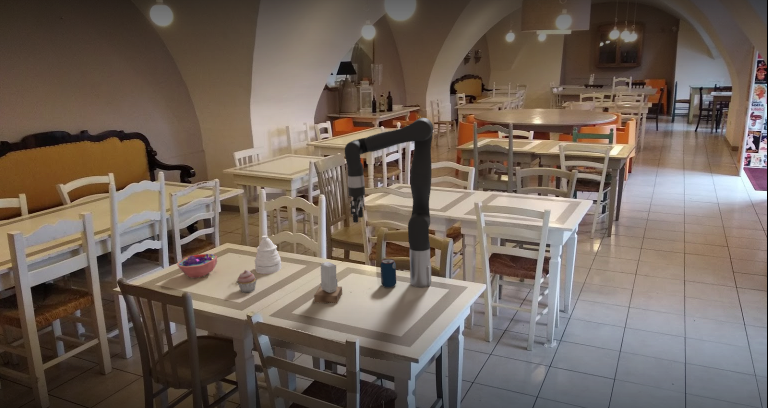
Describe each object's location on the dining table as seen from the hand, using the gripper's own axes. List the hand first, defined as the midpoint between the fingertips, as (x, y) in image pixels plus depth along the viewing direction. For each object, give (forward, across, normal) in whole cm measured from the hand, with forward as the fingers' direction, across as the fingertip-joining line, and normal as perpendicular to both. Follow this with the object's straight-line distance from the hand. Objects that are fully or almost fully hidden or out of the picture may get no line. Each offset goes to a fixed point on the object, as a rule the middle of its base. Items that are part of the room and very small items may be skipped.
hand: (358, 219), depth 255 cm
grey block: (+30, -11, +12) cm, 34 cm away
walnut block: (+30, -21, +9) cm, 38 cm away
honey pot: (+30, +9, +51) cm, 60 cm away
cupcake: (+30, -18, +49) cm, 60 cm away
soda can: (+30, -4, -14) cm, 33 cm away
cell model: (+29, -4, +82) cm, 87 cm away
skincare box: (+26, -21, +9) cm, 35 cm away
